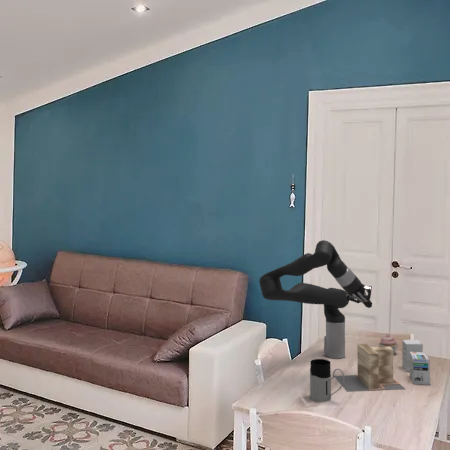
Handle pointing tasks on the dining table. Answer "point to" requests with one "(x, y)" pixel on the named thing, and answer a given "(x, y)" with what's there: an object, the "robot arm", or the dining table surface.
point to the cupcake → (388, 342)
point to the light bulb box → (419, 368)
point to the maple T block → (375, 365)
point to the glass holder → (321, 380)
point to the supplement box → (407, 348)
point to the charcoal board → (356, 384)
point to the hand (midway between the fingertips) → (370, 306)
